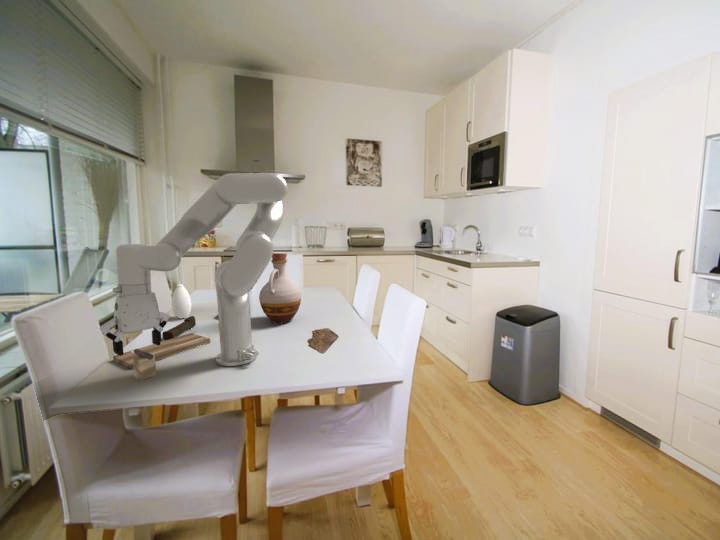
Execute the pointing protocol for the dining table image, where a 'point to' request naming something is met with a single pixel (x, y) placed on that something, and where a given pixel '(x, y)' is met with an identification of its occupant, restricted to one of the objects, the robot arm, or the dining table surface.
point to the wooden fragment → (322, 339)
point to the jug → (280, 293)
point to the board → (164, 348)
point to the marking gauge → (144, 364)
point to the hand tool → (179, 328)
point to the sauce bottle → (181, 302)
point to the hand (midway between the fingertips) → (138, 349)
